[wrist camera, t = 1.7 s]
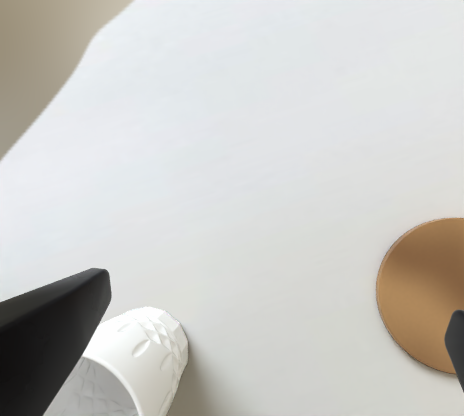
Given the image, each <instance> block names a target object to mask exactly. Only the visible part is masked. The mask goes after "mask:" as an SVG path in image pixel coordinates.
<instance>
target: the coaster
mask: <svg viewBox="0 0 464 416" xmlns="http://www.w3.org/2000/svg"><path fill="white" fill-rule="evenodd" d="M376 298H377V304H378V309H379V312H380V315H381V318H382V320H383V322H384V324H385V327H386V328H387V330H388V331H389V333H390V334H391V336H392V337H393V338H394V340H395V341H396V342H397V343H398V344H399V345H400V346H401V347H402V348H403V349H404V350H405V351H406V352H407V353H408V354H410V355H411V356H412V357H414V358H415V359H416V360H418V361H420V362H421V363H423V364H425V365H427V366H429V367H431V368H434V369H436V370H439V371H443V372H447V373H452V374H456V372H455V369H454V367H453V364H452V362H451V359H450V357H449V354H448V352H447V349H446V347H445V342H444V337H445V333H446V330H447V327H448V324H449V321H450V318H451V316H452V313H453V312H454V311H455V310H458V309H460V310H464V218H443V219H437V220H433V221H429V222H426V223H423V224H421V225H418V226H416V227H414V228H413V229H411V230H409V231H408V232H406V233H405V234H404V235H402V236H401V237H400V238H399V239H398V240H397V241H396V242H395V243H394V244H393V245H392V246H391V248H390V249H389V250H388V252H387V253H386V255H385V257H384V259H383V261H382V263H381V266H380V269H379V272H378V277H377V283H376Z"/></svg>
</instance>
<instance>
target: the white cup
mask: <svg viewBox="0 0 464 416" xmlns="http://www.w3.org/2000/svg"><path fill="white" fill-rule="evenodd" d="M187 362H188V340H187V338H186V336H185V333H184V331H183V329H182V327H181V325H180V323H179V322H178V321H177V320H175V319H174V318H173V317H172V316H171V315H170V314H169V313H167V312H166V311H164V310H160V309H156V308H153V307H149V306H147V307H142V308H138V309H133V310H130V311H128V312H126V313H124V314H122V315H120V316H118V317H115V318H113V319H110V320H108V321H106V322H104V323H102V324H100V325H98V327H97V329H96V331H95V333H94V335H93V336H92V338H91V340H90V342H89V344H88V346H87V348H86V350H85V351H84V353H83V355H82V356H81V358H80V359H79V361H78V363H77V364H76V366H75V367H74V369H73V370H72V372H71V373H70V375H69V376H68V378H67V380H66V381H65V383H64V384H63V386H62V387H61V389H60V390H59V392H58V393H57V395H56V396H55V398H54V400H53V401H52V403H51V404H50V406H49V407H48V409H47V410H46V412H45V413H44V415H43V416H166V415H167V413H168V411H169V408H170V406H171V404H172V401H173V399H174V396H175V393H176V391H177V389H178V385H179V381H180V378H181V375H182V373H183V371H184V369H185V367H186V364H187Z"/></svg>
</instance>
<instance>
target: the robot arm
mask: <svg viewBox="0 0 464 416" xmlns="http://www.w3.org/2000/svg"><path fill="white" fill-rule="evenodd" d="M110 301H111V286H110V277H109V273H108V271H107V270H106V269H98V268H91V269H88V270H86V271H83V272H80V273H78V274H75V275H72V276H70V277H67V278H64V279H62V280H59V281H56V282H54V283H51V284H48V285H45V286H43V287H40V288H37V289H35V290H32V291H29V292H27V293H24V294H21V295H19V296H16V297H13V298H11V299H8V300H5V301H3V302H0V416H43V415H44V413H45V412H46V410H47V409H48V407H49V406H50V404H51V403H52V401H53V400H54V398H55V396H56V395H57V393H58V392H59V390H60V389H61V387H62V386H63V384H64V383H65V381H66V380H67V378H68V376H69V375H70V373H71V372H72V370H73V369H74V367H75V366H76V364H77V363H78V361H79V359H80V358H81V356H82V355H83V353H84V351H85V350H86V348H87V346H88V344H89V342H90V340H91V338H92V336H93V335H94V333H95V331H96V329H97V327H98V325H99V323H100V321H101V319H102V317H103V315H104V313H105V311H106V309H107V308H108V306H109V304H110ZM444 342H445V347H446V349H447V352H448V354H449V357H450V359H451V362H452V364H453V367H454V369H455V372H456V374H457V377H458V379H459V382H460V384H461V387H462V389H463V392H464V310H460V309H458V310H455V311H454V312H453V313H452V316H451V318H450V321H449V324H448V327H447V330H446V333H445V337H444Z"/></svg>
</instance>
